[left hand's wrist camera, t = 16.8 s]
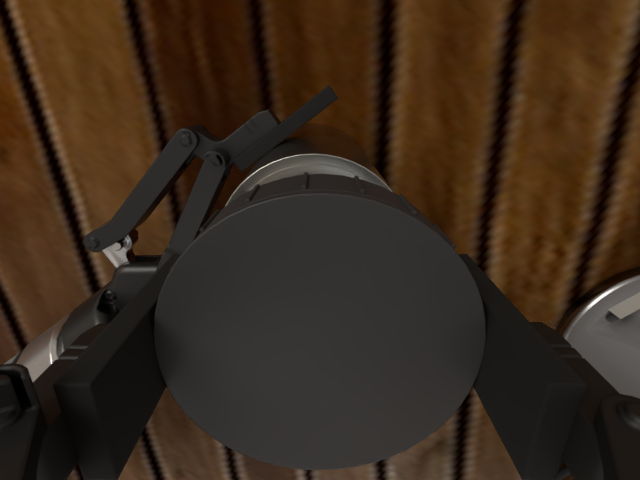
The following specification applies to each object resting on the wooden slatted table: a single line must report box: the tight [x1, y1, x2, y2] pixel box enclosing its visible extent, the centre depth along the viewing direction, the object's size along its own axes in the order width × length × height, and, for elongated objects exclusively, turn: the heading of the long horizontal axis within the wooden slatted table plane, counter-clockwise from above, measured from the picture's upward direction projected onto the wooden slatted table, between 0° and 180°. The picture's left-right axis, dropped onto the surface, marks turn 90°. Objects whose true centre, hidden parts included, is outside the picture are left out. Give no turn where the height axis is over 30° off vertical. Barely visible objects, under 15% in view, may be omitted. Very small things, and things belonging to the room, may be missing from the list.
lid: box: [153, 172, 486, 470], centre depth 11 cm, size 9×9×2 cm
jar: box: [225, 124, 394, 206], centre depth 22 cm, size 8×8×15 cm
